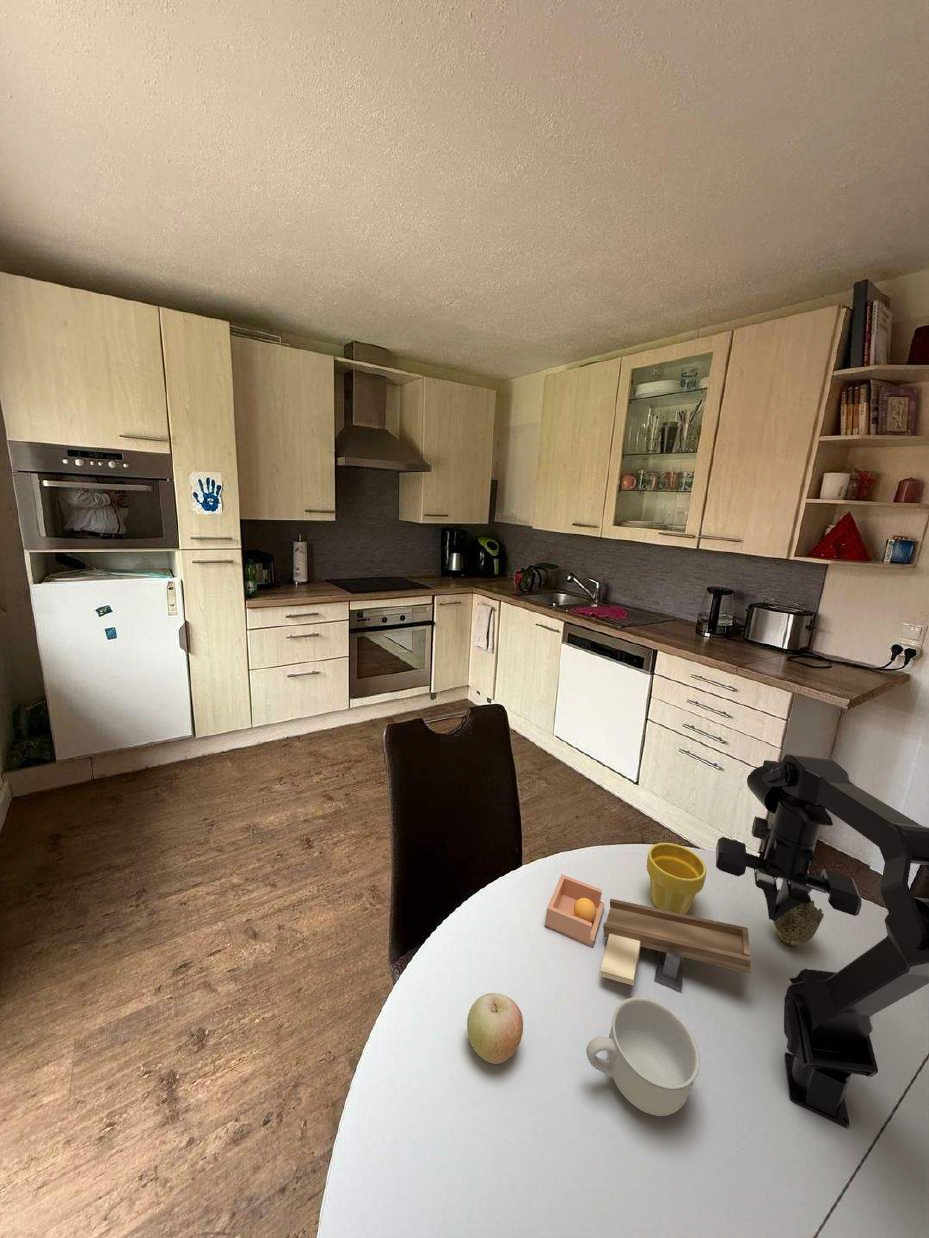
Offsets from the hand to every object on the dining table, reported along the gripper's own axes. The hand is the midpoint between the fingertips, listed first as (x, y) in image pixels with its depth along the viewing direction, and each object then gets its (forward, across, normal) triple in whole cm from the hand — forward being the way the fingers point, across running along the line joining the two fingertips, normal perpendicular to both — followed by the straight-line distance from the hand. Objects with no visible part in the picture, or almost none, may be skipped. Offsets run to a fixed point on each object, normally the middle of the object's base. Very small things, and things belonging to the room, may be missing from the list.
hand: (771, 918), depth 81 cm
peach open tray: (+12, +30, +3) cm, 32 cm away
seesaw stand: (+12, +13, +3) cm, 18 cm away
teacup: (+12, +16, +26) cm, 33 cm away
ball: (+10, +28, +3) cm, 30 cm away
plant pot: (+12, +14, -10) cm, 21 cm away
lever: (+8, +13, +7) cm, 17 cm away
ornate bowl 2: (+12, -6, -12) cm, 18 cm away
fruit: (+12, +34, +31) cm, 48 cm away
